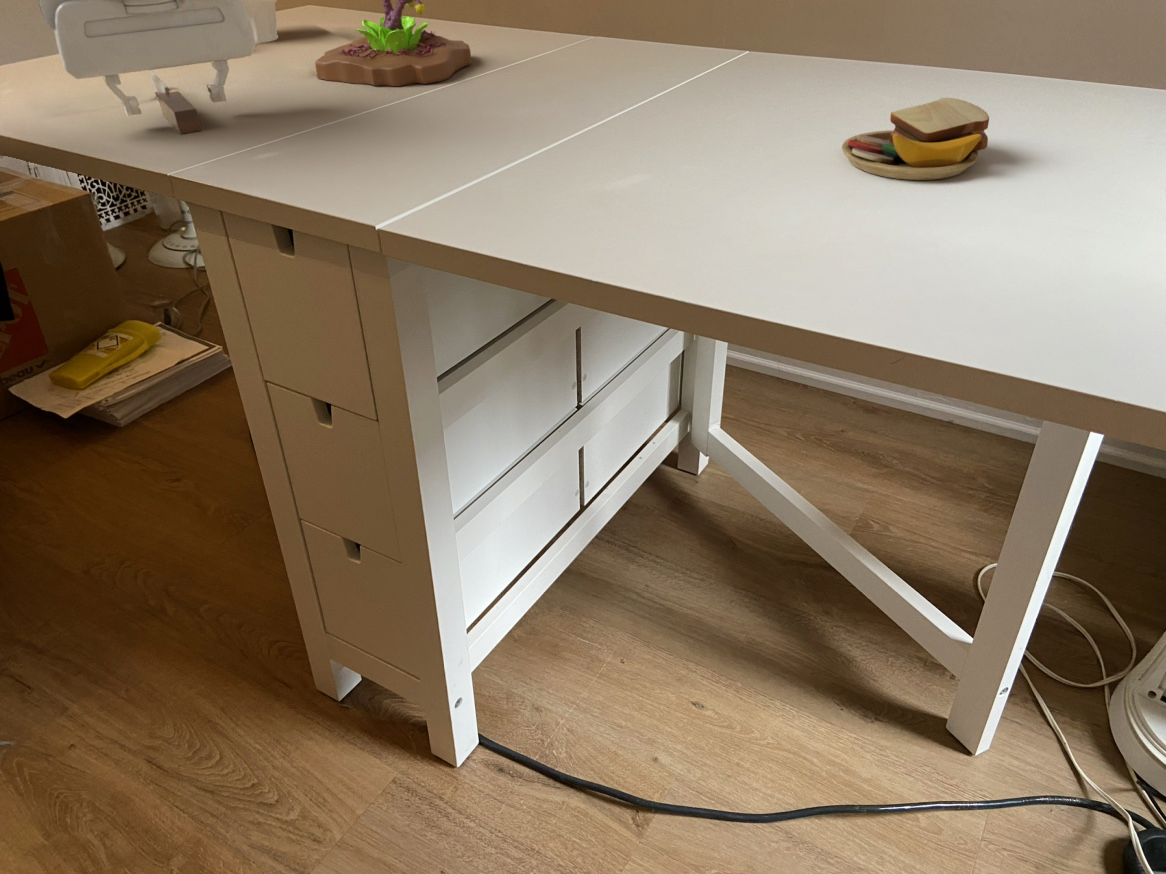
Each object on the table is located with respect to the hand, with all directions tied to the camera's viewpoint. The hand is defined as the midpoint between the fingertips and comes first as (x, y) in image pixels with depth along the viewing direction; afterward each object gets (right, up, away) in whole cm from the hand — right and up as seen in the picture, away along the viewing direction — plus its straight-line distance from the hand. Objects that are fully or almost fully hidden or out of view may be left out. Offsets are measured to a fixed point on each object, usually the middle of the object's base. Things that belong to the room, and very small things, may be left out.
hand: (177, 107), depth 101 cm
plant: (+21, +13, +21) cm, 33 cm away
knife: (-3, +1, +4) cm, 5 cm away
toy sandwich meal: (+79, -11, -16) cm, 81 cm away
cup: (-5, +24, +37) cm, 44 cm away
